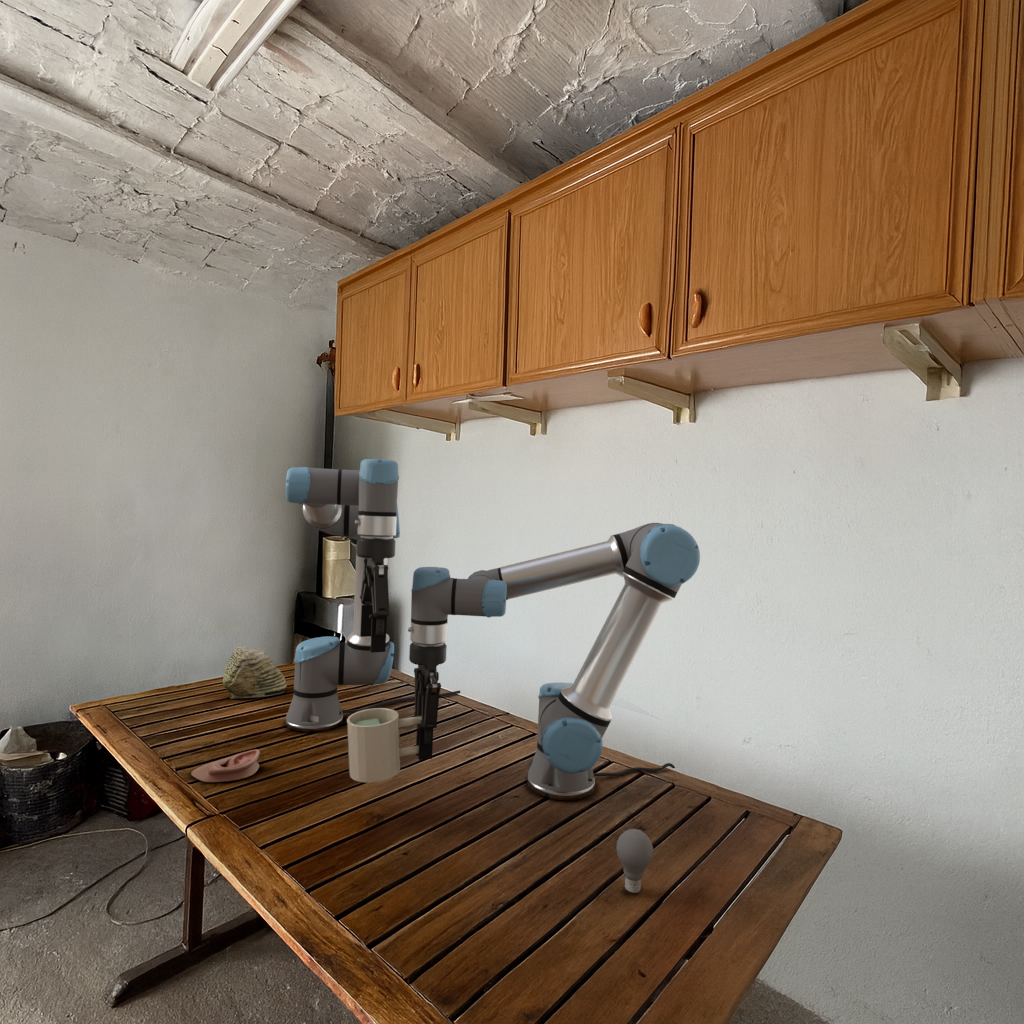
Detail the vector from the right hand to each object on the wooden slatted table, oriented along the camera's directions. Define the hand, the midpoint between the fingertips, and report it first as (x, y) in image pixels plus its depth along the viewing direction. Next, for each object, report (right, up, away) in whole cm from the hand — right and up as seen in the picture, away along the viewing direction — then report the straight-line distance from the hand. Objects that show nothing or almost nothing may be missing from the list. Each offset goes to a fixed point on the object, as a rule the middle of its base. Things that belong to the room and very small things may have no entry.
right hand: (423, 756), depth 130 cm
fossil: (-62, -7, +68) cm, 92 cm away
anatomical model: (-47, -9, +13) cm, 49 cm away
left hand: (-10, +24, -4) cm, 26 cm away
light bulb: (+38, -13, -25) cm, 47 cm away
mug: (-6, -1, -2) cm, 7 cm away
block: (-10, -1, -4) cm, 11 cm away
